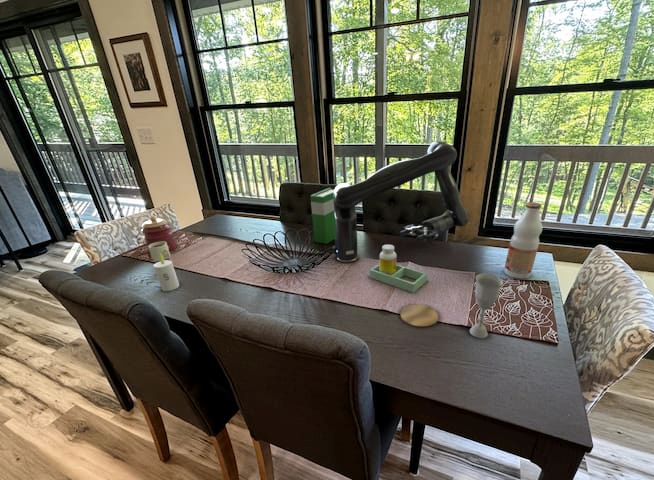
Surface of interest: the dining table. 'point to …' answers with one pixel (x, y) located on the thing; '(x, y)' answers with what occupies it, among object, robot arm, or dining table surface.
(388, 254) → the supplement bottle
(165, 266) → the candle
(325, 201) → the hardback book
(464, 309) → the dining table surface
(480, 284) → the chalice
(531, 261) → the fruit juice
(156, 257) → the character mug
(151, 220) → the kitchen canister
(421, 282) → the holder
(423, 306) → the coaster
